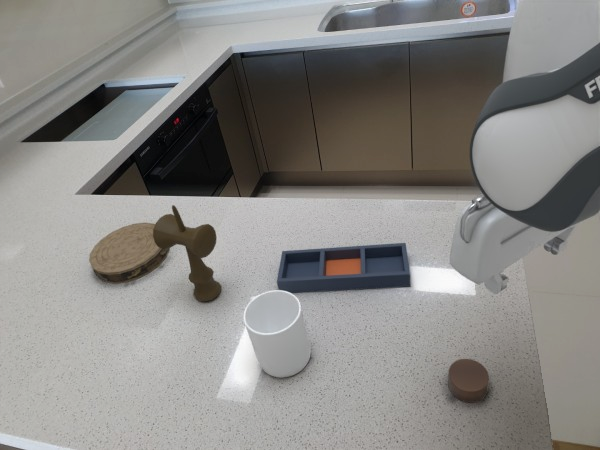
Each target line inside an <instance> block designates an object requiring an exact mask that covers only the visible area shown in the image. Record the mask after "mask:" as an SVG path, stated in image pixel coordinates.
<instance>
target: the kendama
mask: <svg viewBox="0 0 600 450" xmlns="http://www.w3.org/2000/svg"><path fill="white" fill-rule="evenodd" d="M171 210H172V213H166V214H164V215H162V216H161V217H159V219H158V220H157V221H156V222H155V223H154V224H155V226H154V228H153V238H154V242H155V243H156V245H157V246H158V247H159V248H161V249H168V248H169V249H170V248H172V247H174V246H176V245H179V246H183V247H185V251H186V254H187V258H188V263H189V268H190V272H189V274H188V281H189V282H190V283H191V284H193V286H194V289H193V294H192V295H193V297H194V298H195V299H196V300H197V301H201V302H210V301H212V300H214V299H215V298H217V296H219V295H220V293H221V291H222V285H221V283H220V282H219V281H217V280H215V279H214V272H215V271H214V270H213V268H211V267H209V266H207V264H206V263H205V262H204V261H203V259H204V258H207V257H208V256H209V255H211V253H212V252H213V251H214V249H215V247H216V245H217V231H216V230H215V228H214V226H212V225H211V224H209V223H205V224H204V223H203V224H201V225H198V226H196V227H189V226H185V224H184V221H183V219H182V216H181V214H180V213H179V210H178V208H177V206H176V205H174V204H172V206H171Z"/></svg>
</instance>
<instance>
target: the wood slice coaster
mask: <svg viewBox="0 0 600 450" xmlns="http://www.w3.org/2000/svg"><path fill="white" fill-rule="evenodd" d="M155 224H156V223H152V222H138V223H137V222H136V223H132V224H128V225H125V226H122V227H119V228H117V229H115V230H113V231H112V232H109V233H108V234H107V235H105V236H104V237H102V238H101V239H100V240H99V241H98V242H97V243H96V244H95V245H94V246H93V247H92V250H91V251H90V253H89V259H88V262H89V263H90V267H91V268H92V270H93V272H94V273H95V275H96V277H97V278H98V279H99V280H101V281H102V282H104V283H109V284H125V283H129V282H132V281H135V280H138V279H140V278H142V277H144V276H146V275H148V274H150V273H151V272H153V271H154V270H155V269H157V268H158V267H160V265H162V263H163V262H164V261H165V259H166V258H167V257H168V254H169V252H170V248H168V249H161V248H159V247H158V246H157V245H156V243H155V242H154V238H153V228H154V226H155Z"/></svg>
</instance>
